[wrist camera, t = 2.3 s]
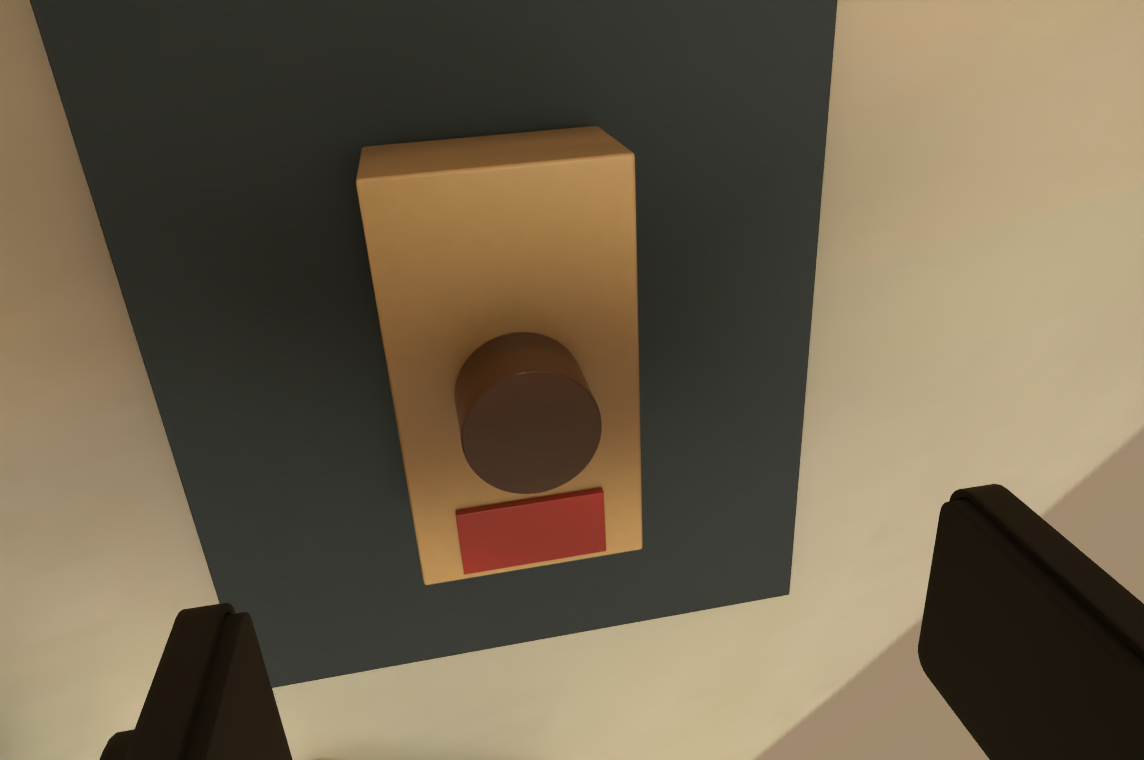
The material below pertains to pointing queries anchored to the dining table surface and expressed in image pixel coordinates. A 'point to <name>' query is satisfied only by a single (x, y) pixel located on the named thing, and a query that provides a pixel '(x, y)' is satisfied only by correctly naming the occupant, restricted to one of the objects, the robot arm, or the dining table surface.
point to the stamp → (510, 343)
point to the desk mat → (348, 306)
